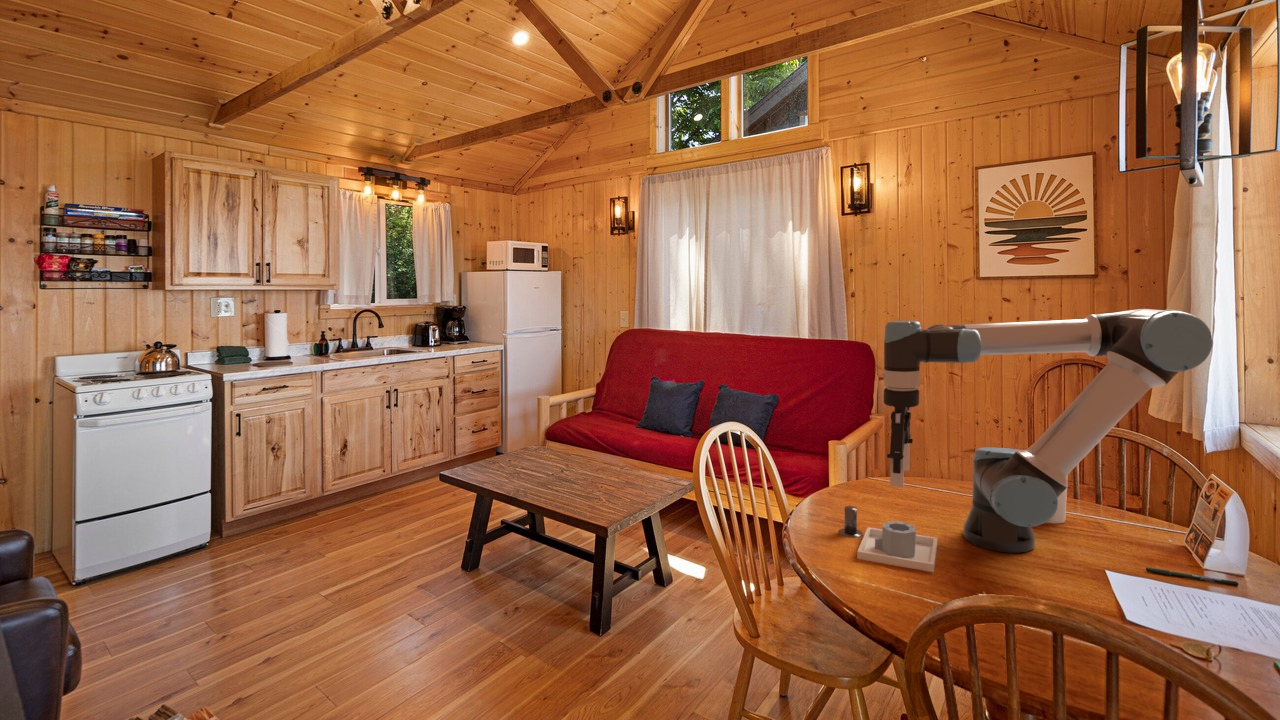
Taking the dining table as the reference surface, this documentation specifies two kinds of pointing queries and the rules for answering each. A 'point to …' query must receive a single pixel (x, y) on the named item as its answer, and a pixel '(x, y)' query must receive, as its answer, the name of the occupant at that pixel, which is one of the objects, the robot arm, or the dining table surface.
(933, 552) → the tray
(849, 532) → the post
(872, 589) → the dining table surface
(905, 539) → the grey socket block
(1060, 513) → the cup
